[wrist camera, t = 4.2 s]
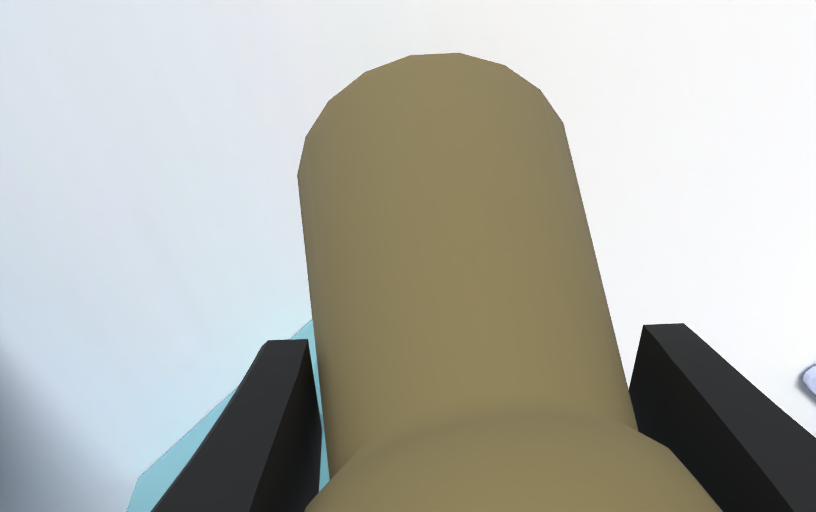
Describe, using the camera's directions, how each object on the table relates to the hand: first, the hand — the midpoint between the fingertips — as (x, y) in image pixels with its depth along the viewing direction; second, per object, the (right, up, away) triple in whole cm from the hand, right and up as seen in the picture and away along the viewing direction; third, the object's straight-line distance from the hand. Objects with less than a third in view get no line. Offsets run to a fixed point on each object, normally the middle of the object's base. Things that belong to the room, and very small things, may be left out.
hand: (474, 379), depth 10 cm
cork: (0, +4, +4) cm, 6 cm away
